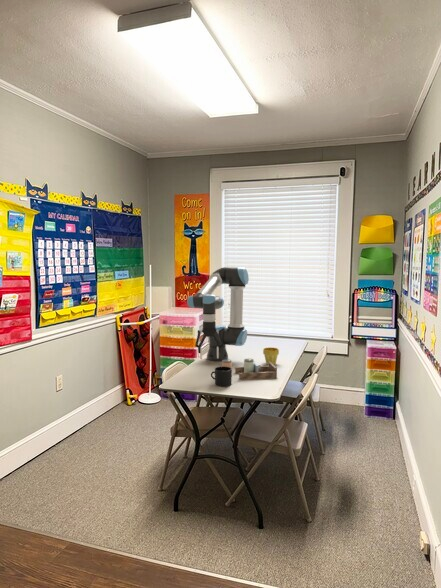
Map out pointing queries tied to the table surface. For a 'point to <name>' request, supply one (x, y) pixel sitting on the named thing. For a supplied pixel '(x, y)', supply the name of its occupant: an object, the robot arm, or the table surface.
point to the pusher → (256, 367)
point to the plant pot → (271, 354)
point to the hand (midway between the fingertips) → (209, 358)
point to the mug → (222, 376)
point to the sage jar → (248, 365)
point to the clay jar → (227, 364)
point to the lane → (262, 373)
